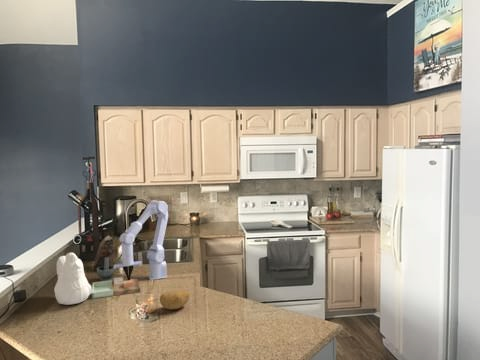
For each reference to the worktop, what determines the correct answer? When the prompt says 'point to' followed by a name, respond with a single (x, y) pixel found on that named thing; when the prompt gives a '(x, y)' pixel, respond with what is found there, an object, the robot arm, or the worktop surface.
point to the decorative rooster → (71, 281)
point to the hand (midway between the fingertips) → (128, 279)
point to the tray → (102, 289)
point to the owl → (104, 253)
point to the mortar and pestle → (106, 271)
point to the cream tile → (118, 280)
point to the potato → (174, 299)
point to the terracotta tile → (127, 283)
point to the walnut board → (120, 290)
